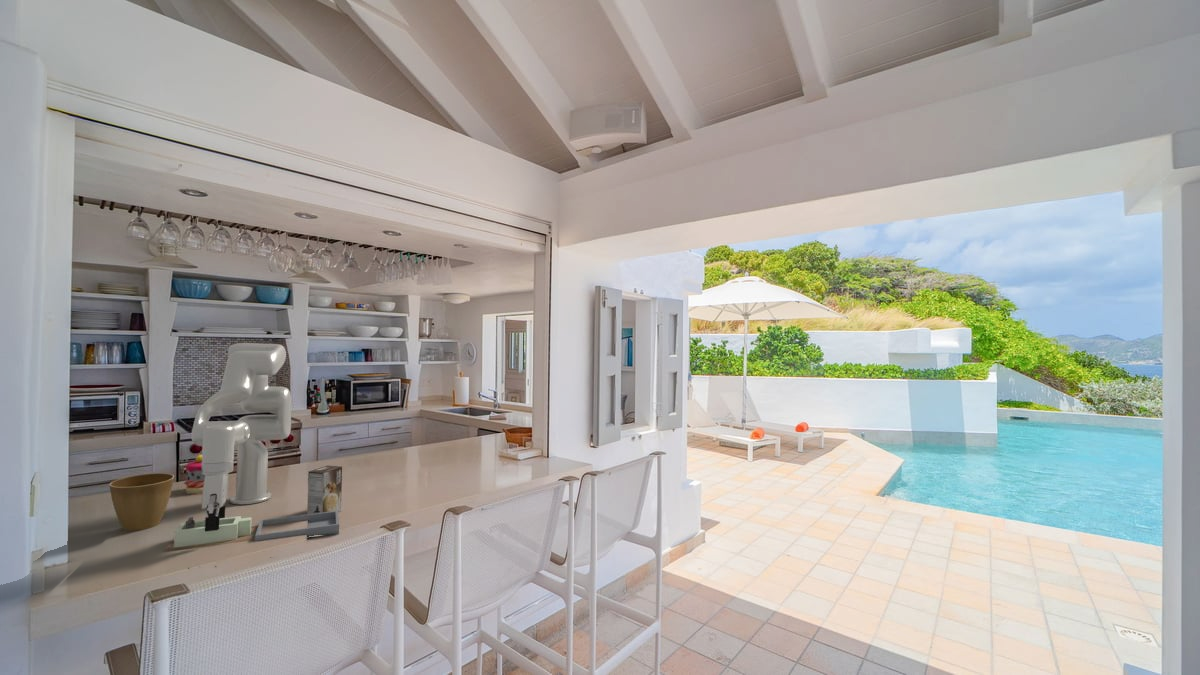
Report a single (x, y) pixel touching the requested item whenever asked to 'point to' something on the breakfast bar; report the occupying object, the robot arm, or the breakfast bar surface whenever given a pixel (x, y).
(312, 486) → the coffee box
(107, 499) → the breakfast bar surface
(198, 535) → the collar
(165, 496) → the plant pot
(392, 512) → the breakfast bar surface
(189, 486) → the cake
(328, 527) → the tray
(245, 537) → the board
